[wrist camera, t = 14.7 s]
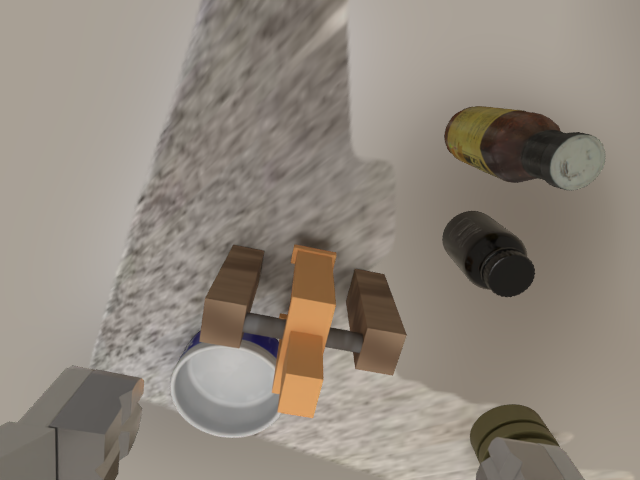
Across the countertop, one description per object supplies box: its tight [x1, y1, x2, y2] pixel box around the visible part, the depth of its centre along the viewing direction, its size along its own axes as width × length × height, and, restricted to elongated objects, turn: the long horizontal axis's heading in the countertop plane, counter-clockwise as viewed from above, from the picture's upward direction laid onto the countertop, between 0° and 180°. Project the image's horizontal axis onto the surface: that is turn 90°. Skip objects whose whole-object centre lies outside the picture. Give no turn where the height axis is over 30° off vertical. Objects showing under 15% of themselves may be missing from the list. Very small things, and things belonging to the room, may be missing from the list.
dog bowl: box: [170, 331, 281, 438], centre depth 56 cm, size 15×15×6 cm
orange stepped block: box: [272, 244, 336, 418], centre depth 41 cm, size 12×5×18 cm, turn 168°
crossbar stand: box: [199, 245, 406, 375], centre depth 47 cm, size 5×20×14 cm, turn 78°
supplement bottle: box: [443, 211, 535, 297], centre depth 46 cm, size 7×7×12 cm
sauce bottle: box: [444, 106, 605, 190], centre depth 38 cm, size 6×6×20 cm
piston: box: [470, 404, 560, 464], centre depth 58 cm, size 11×12×11 cm
